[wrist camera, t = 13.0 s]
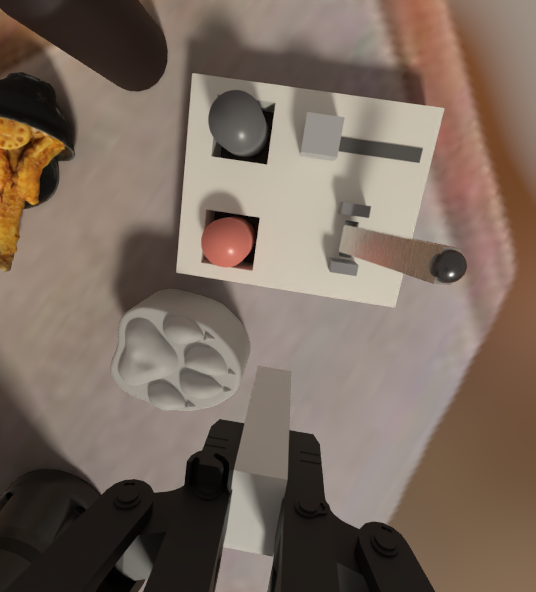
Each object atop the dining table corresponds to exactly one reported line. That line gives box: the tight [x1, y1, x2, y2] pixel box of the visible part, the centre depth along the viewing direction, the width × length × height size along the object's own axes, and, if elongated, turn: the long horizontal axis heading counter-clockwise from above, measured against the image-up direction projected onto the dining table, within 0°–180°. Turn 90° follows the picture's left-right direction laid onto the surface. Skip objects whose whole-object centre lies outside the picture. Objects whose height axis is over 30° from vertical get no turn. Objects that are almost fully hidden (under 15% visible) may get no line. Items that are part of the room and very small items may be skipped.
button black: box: [208, 90, 268, 158], centre depth 32 cm, size 4×4×6 cm
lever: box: [339, 220, 467, 285], centre depth 28 cm, size 2×3×13 cm
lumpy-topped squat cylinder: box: [111, 289, 250, 411], centre depth 38 cm, size 10×13×9 cm
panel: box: [176, 73, 444, 308], centre depth 35 cm, size 22×18×6 cm
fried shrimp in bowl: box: [0, 72, 75, 271], centre depth 35 cm, size 9×11×18 cm
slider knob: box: [301, 112, 345, 161], centre depth 31 cm, size 3×3×3 cm
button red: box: [201, 216, 256, 267], centre depth 36 cm, size 4×4×6 cm
